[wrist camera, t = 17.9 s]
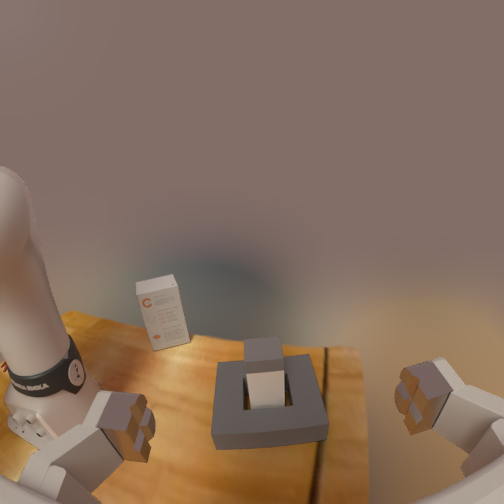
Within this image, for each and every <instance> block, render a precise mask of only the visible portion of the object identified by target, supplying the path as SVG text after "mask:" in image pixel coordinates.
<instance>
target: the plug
mask: <svg viewBox="0 0 504 504" xmlns="http://www.w3.org/2000/svg"><path fill="white" fill-rule="evenodd" d="M244 359H245V369H246V376H247V383H248V391H249V398H250V405H251V410H253V409H266V408H276V407H285V387H284V357H283V352H282V347H281V342H280V336H276V337H265V338H255V339H244Z"/></svg>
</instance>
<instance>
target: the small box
mask: <svg viewBox="0 0 504 504" xmlns="http://www.w3.org/2000/svg"><path fill="white" fill-rule="evenodd" d="M136 296H137V300H138V303H139V307H140V310H141V314H142V317H143V320H144V323H145V327H146V330H147V333H148V336H149V340H150V343H151V346H152V348H153V351H157V350H161V349H165V348H169V347H173V346H177V345H181V344H185V343H189V342H190V337H189V333H188V328H187V324H186V320H185V315H184V311H183V307H182V302H181V298H180V293H179V288H178V285H177V283H176V281H175V279H174V276H173V274H172V275H167V276H162V277H158V278H154V279H149V280H145V281H140V282H136Z"/></svg>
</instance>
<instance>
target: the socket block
mask: <svg viewBox="0 0 504 504" xmlns="http://www.w3.org/2000/svg"><path fill="white" fill-rule="evenodd" d="M284 387H285V391H288V396H289V402H290V406H286V407H276V408H266V409H253V410H246V395H249V391H248V383H247V376H246V369H245V361H230V362H218V366H217V376H216V386H215V397H214V408H213V419H212V430H211V435H212V438H213V441H214V444H215V447H216V450H228V449H252V448H266V447H277V446H286V445H294V444H302V443H309V442H315V441H321V440H326V438H327V433H328V427H329V421H328V418H327V414H326V411H325V407H324V404H323V400H322V397H321V393H320V390H319V386H318V383H317V379H316V376H315V373H314V369H313V366H312V363H311V359H310V356H309V354H305V355H297V356H288V357H284Z"/></svg>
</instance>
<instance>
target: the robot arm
mask: <svg viewBox="0 0 504 504" xmlns="http://www.w3.org/2000/svg"><path fill="white" fill-rule="evenodd" d="M0 352H1V354H2V356H3V357H4V359H5V362H4V364H3V365H2V366H1V368H2V367H3V366H5V365H6V366H5V368H4V370H3V372H6V370H7V369H8V373H9V376H10V379H11V382H10V384H9V386H8V388H7V390H6V393H5V404H6V406H7V408H8V409H9V411H10V413H9V417H8V427H9V428H10V430H11V431H13V432H14V433H15V434H17V435H18V436H19V437H21V438H22V439H24V440H25V441H27V442H28V443H30V444H31V445H33V446H34V447H36V448H37V449H39V450H38V451H36V452H35V453H33V454H32V455H31V456H30V458H29V460H28V462H27V464H26V466H25V468H24V470H23V472H22V474H21V476H20V479H19V481H18V483H16V482H14V481H12V480H10V479H8V478H7V477H5V476H3V475H1V474H0V504H102V503H101V502H100V501H99V500H98V499H97V498H96V497H94V496H93V495H92V494H91V493H92V492H93V491H94V490H95V489H96V488H97V487H98V486H99V485H100V484H101V483H102V482H103V481H104V480H105V479H106V478H108V477H109V476H110V475H111V474H112V473H113V472H114V471H115V470H116V469H117V468H118V467H119V466H120V465H121V464H122V463H123V462H124V461H123V460H127V461H135V462H144V463H147V462H148V458H149V454H150V450H151V446H150V444H149V443H148V441H149V440H150V439H152V438H153V437H154V433H155V418H154V415H153V413H152V411H151V410H150V409H149V408H147V407H146V405H147V400H146V398H145V396H144V395H142V394H134V393H124V392H115V391H106V390H101V388H100V385H99V384H98V382H97V381H96V380H95V379H93V378H92V376H91V375H90V373H89V372H88V370H87V369H86V367H85V365H84V364H83V362H82V359H81V356H80V354H79V352H78V350H77V348H76V344H75V343H74V341H73V339H72V338H71V336H70V335H68V334H67V332H66V329H65V327H64V324H63V322H62V319H61V317H60V314H59V311H58V309H57V306H56V303H55V300H54V297H53V295H52V292H51V288H50V285H49V281H48V276H47V272H46V268H45V264H44V260H43V255H42V250H41V246H40V241H39V236H38V231H37V226H36V221H35V215H34V209H33V204H32V199H31V195H30V193H29V190H28V188H27V187H26V185H25V183H24V182H23V181H22V179H21V178H20V177H19V176H18V175H17V174H16V173H14V172H13V171H11V170H9V169H8V168H5V167H2V166H0ZM400 379H401V382H400V383H399V384H398V386H397V387H396V390H395V404H396V407H397V409H398V411H399V412H400V413H402V414H404V415H405V419H404V423H405V425H406V427H407V429H408V431H409V433H410V435H414V434H417V433H420V432H423V431H426V430H429V429H432V430H433V431H435V432H436V433H438V434H439V435H441V436H442V437H444V438H445V439H447V440H448V441H450V442H452V443H453V444H455V445H456V446H457V447H459V448H461V449H462V450H464V451H465V452H467V453H468V454H469V455H468V457H467V458H466V459H465V460H464V461H463V463H462V465H461V467H460V468H461V470H462V472H463V474H464V475H465V478H463V479H462V480H460V481H458V482H456V483H454V484H452V485H450V486H448V487H446V488H444V489H442V490H440V491H438V492H435V493H433V494H431V495H429V496H426V497H424V498H422V499H419V500H417V501H414V502H412V503H409V504H504V399H503V398H500V397H498V396H495V395H493V394H490V393H488V392H486V391H483V390H481V389H478V388H476V387H474V386H471V385H467V386H466V385H465V384H464V383H463V382H462V380H461V379H460V378H459V376H458V375H457V374H456V372H455V371H454V370H453V369H452V367H451V366H450V365H449V364H448V362H447V361H446V360H445V359H444V358H442V357H440V358H436V359H433V360H430V361H426V362H423V363H420V364H416V365H413V366H409V367H406V368H403V370H402V371H401V373H400Z"/></svg>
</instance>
